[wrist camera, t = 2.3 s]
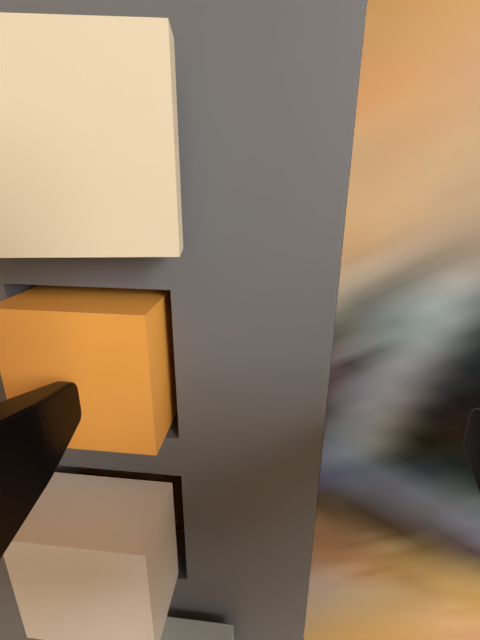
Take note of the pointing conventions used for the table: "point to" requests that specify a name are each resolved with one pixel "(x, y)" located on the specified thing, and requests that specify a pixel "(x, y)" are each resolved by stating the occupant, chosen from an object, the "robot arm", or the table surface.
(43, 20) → the cream rectangular plate
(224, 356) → the control panel
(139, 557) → the off-white button
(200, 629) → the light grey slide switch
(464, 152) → the table surface
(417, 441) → the table surface
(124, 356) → the orange button
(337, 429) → the table surface
